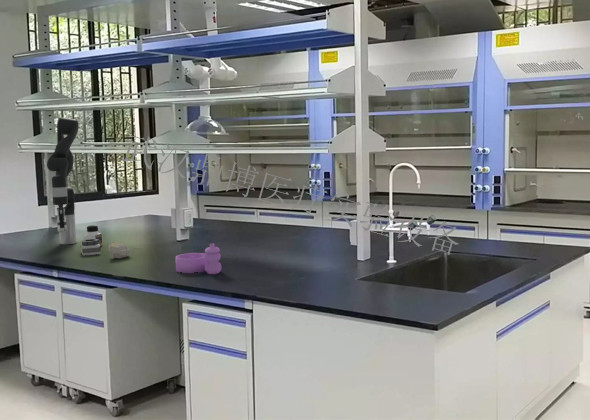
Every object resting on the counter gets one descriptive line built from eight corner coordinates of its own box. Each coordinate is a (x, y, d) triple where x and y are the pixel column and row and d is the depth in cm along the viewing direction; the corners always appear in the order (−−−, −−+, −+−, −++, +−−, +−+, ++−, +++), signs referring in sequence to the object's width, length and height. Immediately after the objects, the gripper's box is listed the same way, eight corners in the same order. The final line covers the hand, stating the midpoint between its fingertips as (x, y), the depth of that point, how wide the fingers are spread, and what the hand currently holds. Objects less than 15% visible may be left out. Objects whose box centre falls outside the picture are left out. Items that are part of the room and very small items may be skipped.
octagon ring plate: (81, 252, 351) (80, 239, 350) (98, 250, 354) (97, 237, 353) (82, 255, 340) (81, 242, 339) (100, 254, 343) (99, 241, 342)
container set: (169, 270, 296) (167, 242, 295) (194, 264, 308) (192, 237, 306) (206, 277, 280) (205, 247, 279) (231, 270, 292) (230, 242, 290)
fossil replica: (133, 255, 337) (114, 257, 337) (131, 240, 336) (112, 242, 337) (126, 258, 325) (107, 260, 325) (124, 242, 324) (105, 244, 325)
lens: (57, 231, 346) (56, 216, 345) (66, 230, 347) (65, 215, 346) (57, 232, 342) (56, 217, 340) (67, 231, 343) (66, 216, 342)
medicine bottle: (96, 247, 364) (94, 226, 363) (84, 247, 366) (83, 226, 364) (102, 245, 371) (101, 224, 370) (91, 245, 372) (89, 224, 371)
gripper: (67, 196, 336) (69, 228, 339) (67, 193, 350) (69, 224, 352) (52, 197, 334) (54, 229, 336) (52, 194, 347) (54, 225, 349)
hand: (62, 227), depth 344 cm, fingers closed on lens, 4 cm apart
